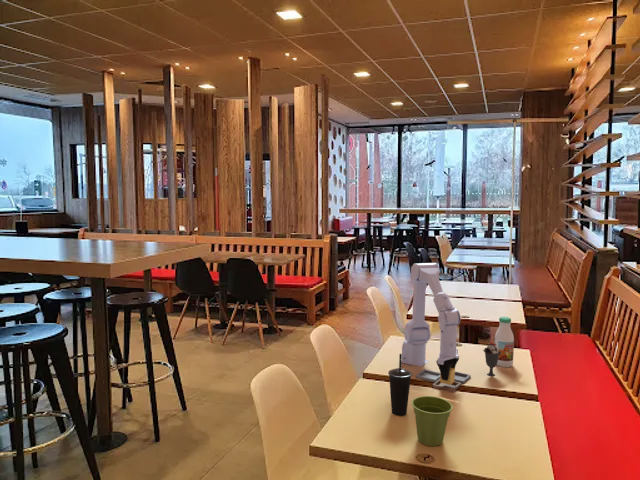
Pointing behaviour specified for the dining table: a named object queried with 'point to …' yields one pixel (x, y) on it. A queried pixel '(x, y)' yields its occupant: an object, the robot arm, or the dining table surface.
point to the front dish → (447, 386)
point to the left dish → (428, 375)
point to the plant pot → (431, 418)
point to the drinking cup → (399, 389)
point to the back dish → (461, 377)
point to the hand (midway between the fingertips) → (447, 377)
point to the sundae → (491, 357)
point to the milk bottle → (505, 342)
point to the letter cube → (451, 377)
